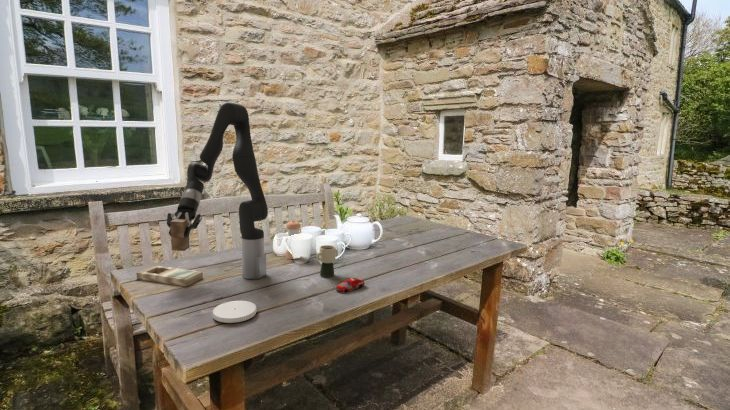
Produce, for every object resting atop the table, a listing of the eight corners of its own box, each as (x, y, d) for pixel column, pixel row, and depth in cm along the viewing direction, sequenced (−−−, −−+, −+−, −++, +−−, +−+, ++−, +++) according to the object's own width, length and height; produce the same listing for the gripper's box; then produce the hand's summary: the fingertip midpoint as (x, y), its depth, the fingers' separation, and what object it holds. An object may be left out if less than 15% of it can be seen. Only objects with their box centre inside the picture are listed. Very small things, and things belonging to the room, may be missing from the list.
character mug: (332, 270, 180) (332, 243, 178) (341, 275, 175) (342, 247, 173) (312, 275, 173) (312, 247, 171) (321, 280, 168) (321, 251, 166)
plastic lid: (230, 304, 142) (229, 298, 141) (264, 310, 138) (264, 304, 138) (203, 321, 129) (203, 314, 128) (240, 328, 125) (240, 321, 124)
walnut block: (189, 247, 163) (188, 219, 161) (184, 250, 158) (183, 221, 156) (177, 247, 163) (176, 218, 161) (171, 250, 158) (170, 221, 156)
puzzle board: (202, 278, 166) (202, 271, 165) (186, 286, 156) (186, 279, 156) (155, 271, 172) (154, 264, 171) (136, 279, 162) (136, 272, 161)
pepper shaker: (283, 257, 198) (283, 220, 195) (294, 254, 203) (294, 218, 200) (291, 260, 193) (291, 222, 190) (303, 257, 199) (303, 220, 195)
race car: (341, 295, 154) (341, 285, 153) (333, 291, 158) (333, 281, 157) (366, 287, 162) (366, 278, 162) (358, 283, 166) (358, 274, 166)
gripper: (169, 196, 164) (156, 230, 154) (204, 197, 164) (193, 232, 154) (176, 206, 170) (163, 240, 160) (209, 207, 170) (199, 241, 160)
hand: (178, 236), depth 157 cm, fingers closed on walnut block, 5 cm apart
